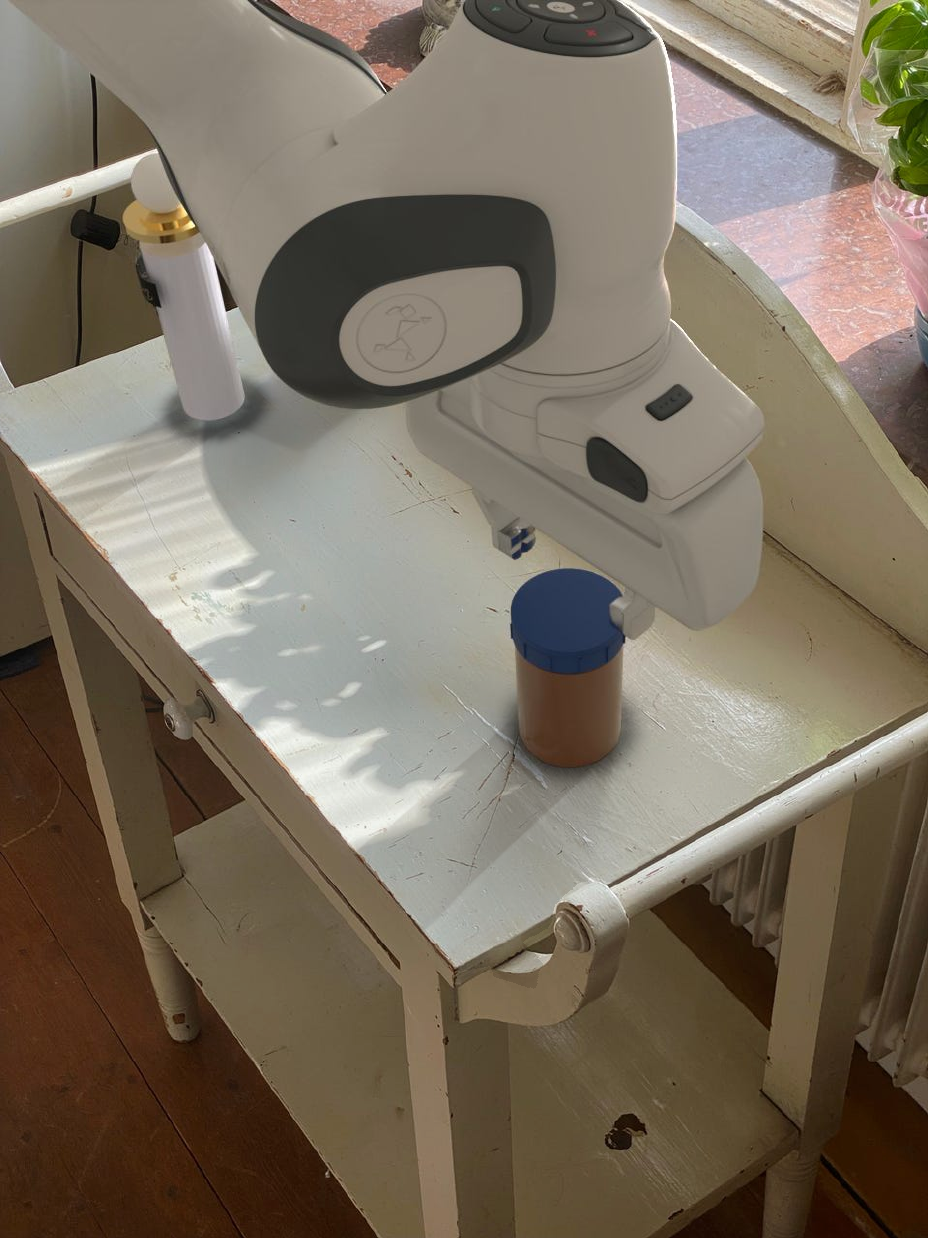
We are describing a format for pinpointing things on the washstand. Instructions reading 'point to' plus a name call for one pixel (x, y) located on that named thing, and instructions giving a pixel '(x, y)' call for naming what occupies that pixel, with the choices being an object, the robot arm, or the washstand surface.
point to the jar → (569, 711)
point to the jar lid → (565, 620)
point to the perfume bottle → (183, 295)
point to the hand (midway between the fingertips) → (571, 586)
